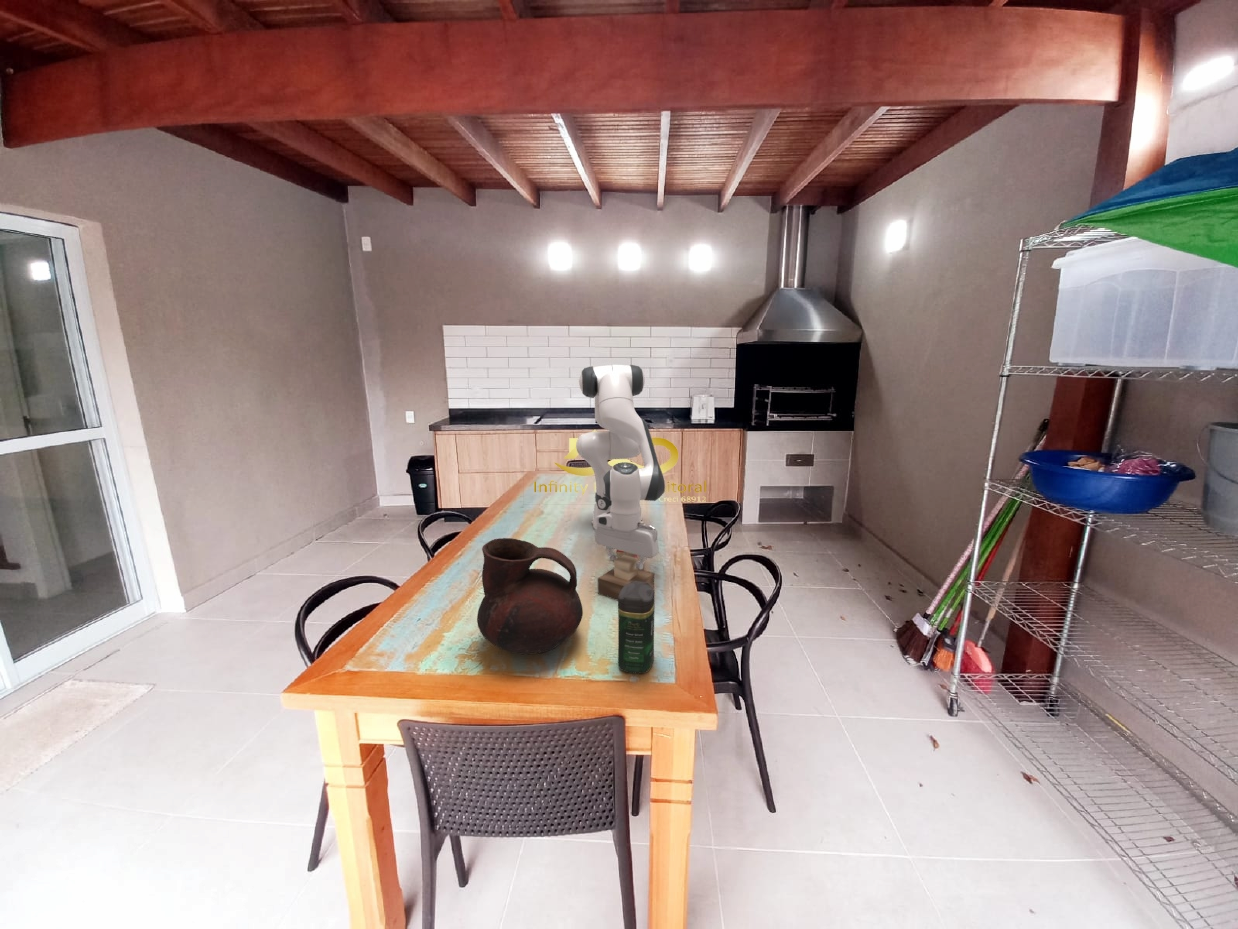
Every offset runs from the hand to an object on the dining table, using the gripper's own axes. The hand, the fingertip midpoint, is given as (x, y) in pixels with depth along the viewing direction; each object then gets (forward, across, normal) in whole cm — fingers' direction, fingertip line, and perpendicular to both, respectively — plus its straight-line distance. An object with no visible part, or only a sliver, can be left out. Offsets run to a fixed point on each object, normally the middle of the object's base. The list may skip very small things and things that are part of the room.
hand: (626, 564), depth 143 cm
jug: (+9, +5, +34) cm, 35 cm away
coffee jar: (+9, -21, +27) cm, 35 cm away
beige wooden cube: (+3, 0, 0) cm, 3 cm away
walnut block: (+8, 0, 0) cm, 8 cm away
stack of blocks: (+9, +13, -22) cm, 27 cm away
